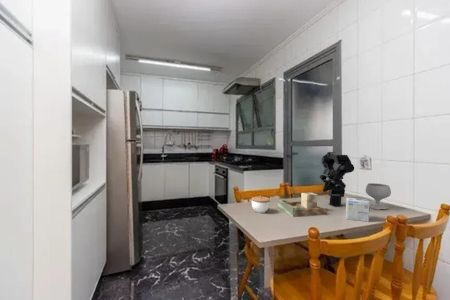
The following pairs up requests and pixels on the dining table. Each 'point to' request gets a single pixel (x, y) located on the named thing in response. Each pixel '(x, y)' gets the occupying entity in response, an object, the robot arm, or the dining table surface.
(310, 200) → the oak block
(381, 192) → the chalice
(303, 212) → the trap board
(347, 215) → the light bulb box
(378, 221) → the dining table surface
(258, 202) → the lidded jar
